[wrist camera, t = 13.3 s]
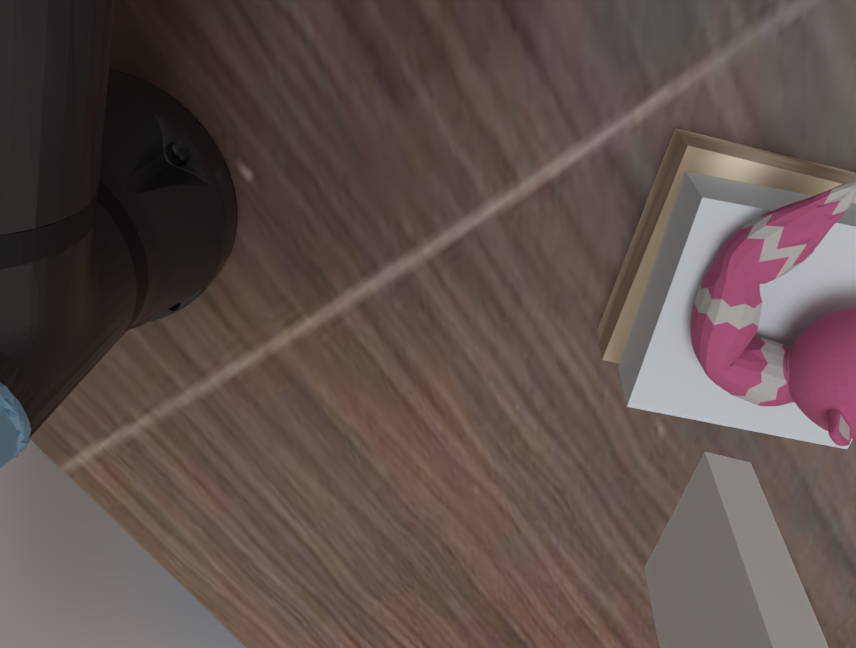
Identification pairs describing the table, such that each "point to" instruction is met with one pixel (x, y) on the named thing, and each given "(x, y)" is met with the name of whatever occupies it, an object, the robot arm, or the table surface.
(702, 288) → the toy
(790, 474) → the table surface
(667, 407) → the upper block
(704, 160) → the lower slab
